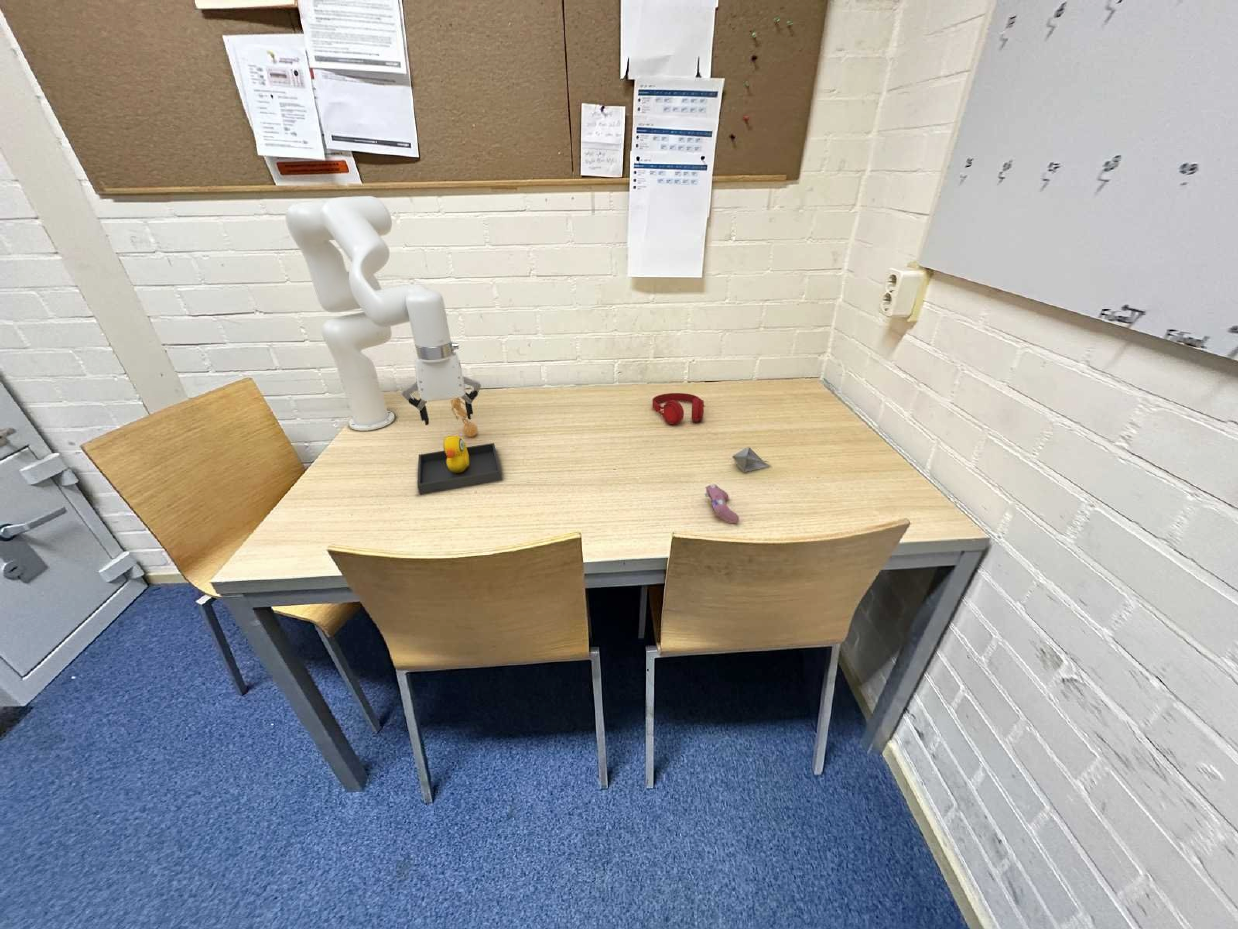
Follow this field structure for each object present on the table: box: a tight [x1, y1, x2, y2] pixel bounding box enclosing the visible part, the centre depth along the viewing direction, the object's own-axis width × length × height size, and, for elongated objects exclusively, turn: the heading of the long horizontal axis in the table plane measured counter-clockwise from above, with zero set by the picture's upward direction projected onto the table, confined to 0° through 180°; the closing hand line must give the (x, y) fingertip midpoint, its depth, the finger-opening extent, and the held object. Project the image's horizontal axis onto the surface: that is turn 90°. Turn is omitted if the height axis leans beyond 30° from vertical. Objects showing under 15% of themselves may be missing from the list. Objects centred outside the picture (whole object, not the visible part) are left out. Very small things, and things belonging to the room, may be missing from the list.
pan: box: [416, 442, 503, 496], centre depth 124 cm, size 15×19×3 cm
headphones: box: [651, 392, 706, 425], centre depth 152 cm, size 15×7×20 cm
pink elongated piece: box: [704, 483, 740, 524], centre depth 108 cm, size 10×5×7 cm, turn 5°
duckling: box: [442, 435, 469, 473], centre depth 122 cm, size 11×5×10 cm, turn 4°
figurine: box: [449, 398, 478, 438], centre depth 138 cm, size 8×6×12 cm
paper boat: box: [731, 446, 769, 473], centre depth 122 cm, size 12×6×9 cm
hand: (448, 419), depth 118 cm, fingers open, 9 cm apart
